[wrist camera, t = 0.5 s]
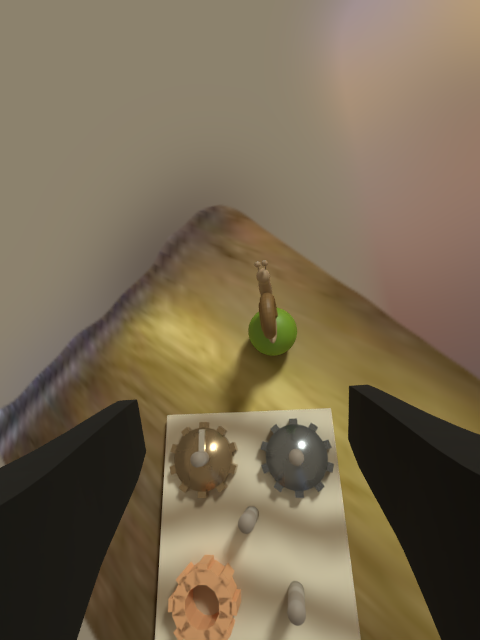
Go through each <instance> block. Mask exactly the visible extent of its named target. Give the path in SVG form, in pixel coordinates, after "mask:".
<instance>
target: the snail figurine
mask: <svg viewBox="0 0 480 640" xmlns="http://www.w3.org/2000/svg"><path fill="white" fill-rule="evenodd" d="M267 264H268V262H267V261H262V265H263V266H265V269H260V270H259V267H260V262H255V267H258V272H257V280H258V282H259V291H260V294H261V297H260V303H259V312H258V313H256V314H255V315H254V317H253V318H252V320H251V322H250V324H249V330H248V333H249V338H250V341H251V343H252V345H253V346H254V347H255V348H256V349H257V350H258V351H259V352H261V353H263V354H266V355H271V356H274V355H280V354H283V353H285V352H286V351H288V350H289V349H290V348H291V347H292V345H293V344H294V342H295V339H296V336H297V327H296V324H295V321H294V319H293V318H292V316H291V315H290V314H289V313H287V312H286V311H284V310H282V309H280V308H277V307H276V302H275V299H274V296H273V295H272V287H271V283H270V274H269V272H268V270H266V266H267Z"/></svg>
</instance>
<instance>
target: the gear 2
mask: <svg viewBox="0 0 480 640" xmlns="http://www.w3.org/2000/svg"><path fill="white" fill-rule="evenodd" d="M289 424H290V425H286V426H284V427H282V428H279V427H278V425H277V424H275V425H274V426H273V427H272V428H270V429H271V431H272V432H273V433H274V434H273V435H272V436H271V438H270V440H269V442H264V441H262V445H261V449H260V450H264V451H266V463H264V464H262V465H261V466H262V469H263V472H264V474H265V473H267V472H270V473H271V475H272V477H273V478H274V479H275V480H276V483H275V485H274V488H275V489H277V490H278V491H279V492H281V491H282V489H283V487H285V488H287V489H290V490H293V491H295V498H304V491H305V490H308V489H311V488H313V487H315V488H316V490H317V491H318V492H319V491H321V490H322V489H323V488H324V487H325V486H324V484H323V483H322V482H321V480H322V478H323V477H324V475H325V473H326V471H329V472H332V473H333V467H334V464H333V463H331V462H328V455H327V449H330V448H332V446H331V444H330V442H329V440H328V439H327V440H324V441H322V439H321V438H320V437H319V435H318V434H317V433H316V430H317V429H318V427H317V426H316V425H314V424H313V423H310V425H309V427H306V426H303V425H298V424H297V418H295V419H289ZM293 449H299V450H300V451H301V452H302V453H303V455H304V461H303V463H302V464H301V465H299V466H295V465H293V464H292V463H291V462H290V461H289V453H290V452H291V450H293Z"/></svg>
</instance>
